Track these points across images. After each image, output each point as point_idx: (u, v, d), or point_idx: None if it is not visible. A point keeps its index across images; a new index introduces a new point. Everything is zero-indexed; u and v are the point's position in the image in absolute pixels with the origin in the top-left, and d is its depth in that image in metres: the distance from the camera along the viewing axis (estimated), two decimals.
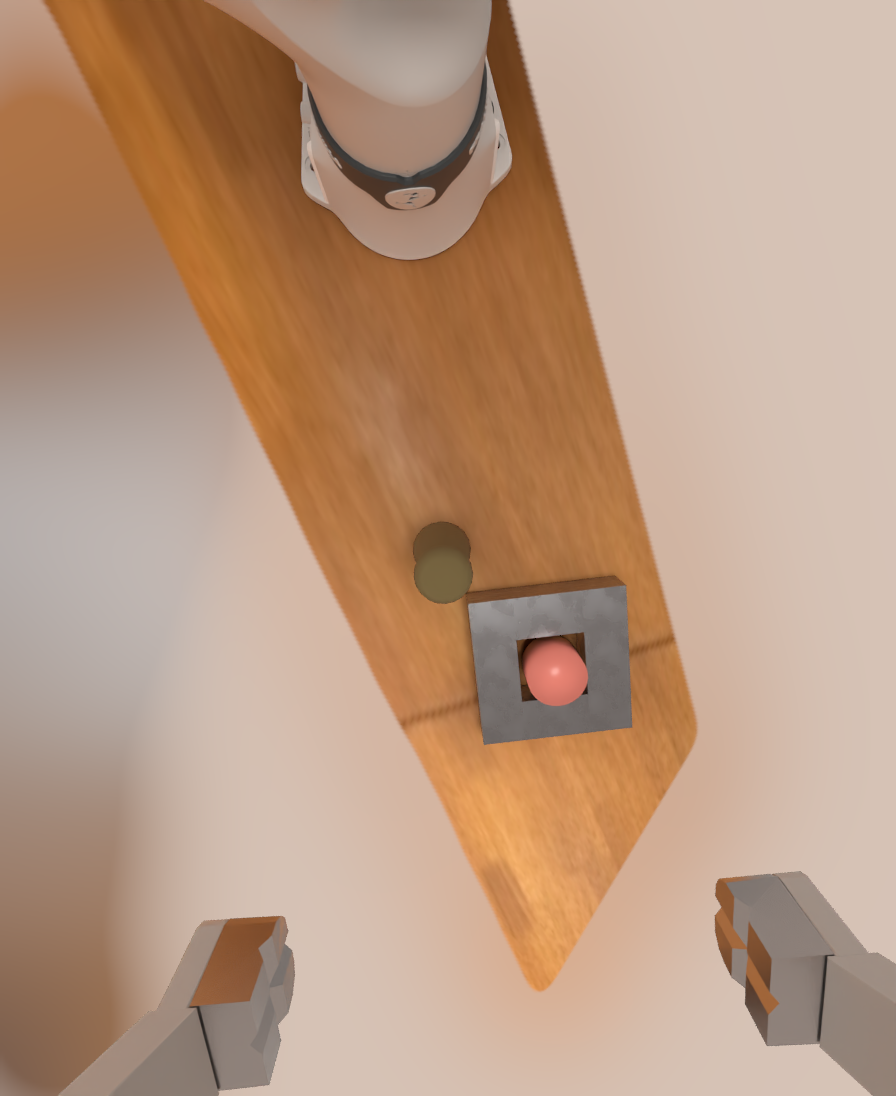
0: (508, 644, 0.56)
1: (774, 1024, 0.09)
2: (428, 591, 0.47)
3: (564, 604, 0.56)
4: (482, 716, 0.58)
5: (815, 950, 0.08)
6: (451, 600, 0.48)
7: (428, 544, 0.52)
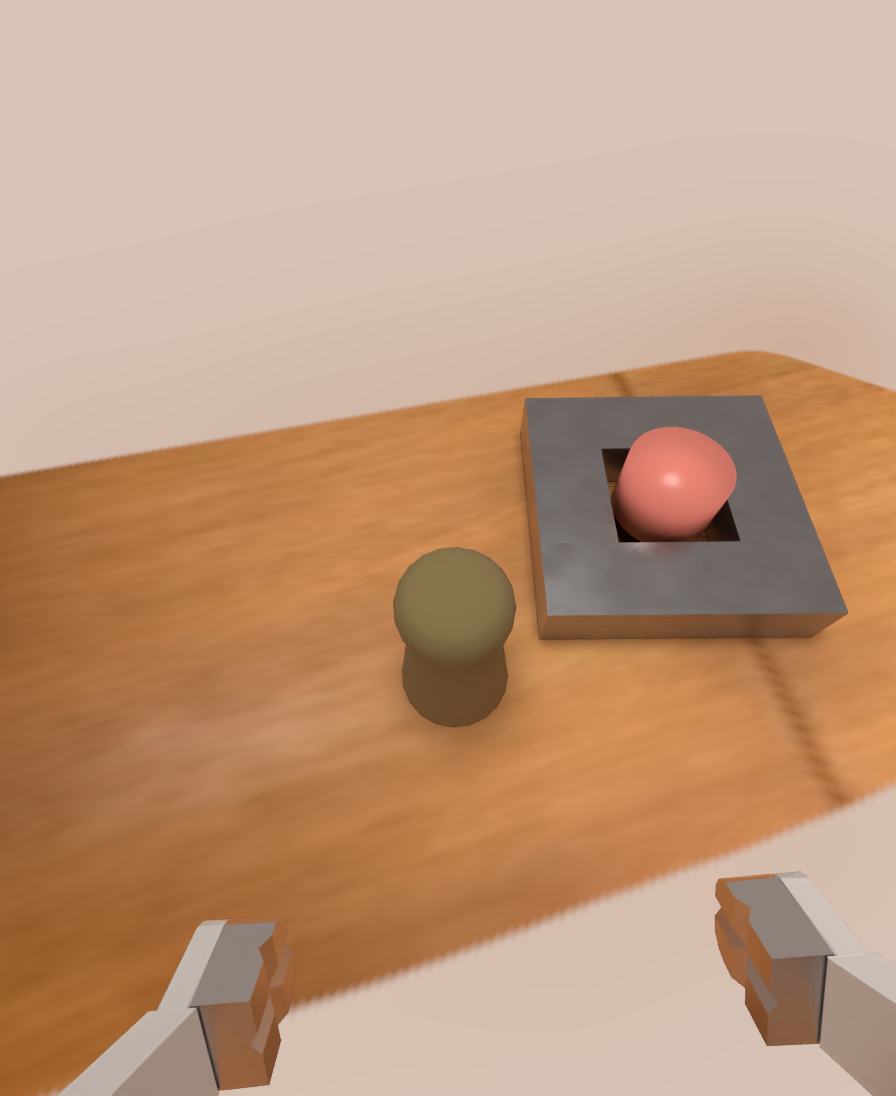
0: (628, 554, 0.31)
1: (774, 1024, 0.09)
2: (479, 624, 0.21)
3: (553, 472, 0.34)
4: (784, 610, 0.29)
5: (815, 950, 0.08)
6: (504, 583, 0.23)
7: (412, 659, 0.26)
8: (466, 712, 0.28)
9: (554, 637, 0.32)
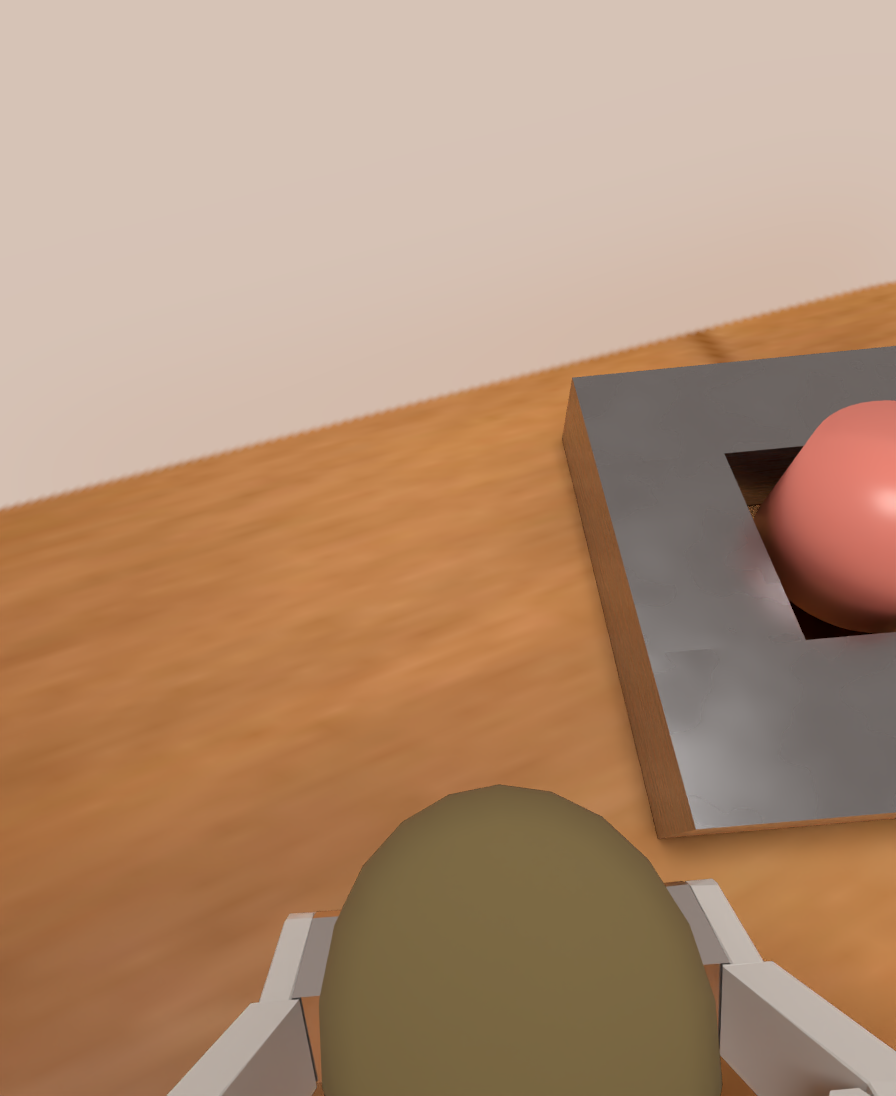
0: (832, 666, 0.15)
1: None
2: None
3: (646, 504, 0.18)
4: None
5: (712, 958, 0.08)
6: (680, 949, 0.07)
7: None
8: None
9: (689, 835, 0.16)
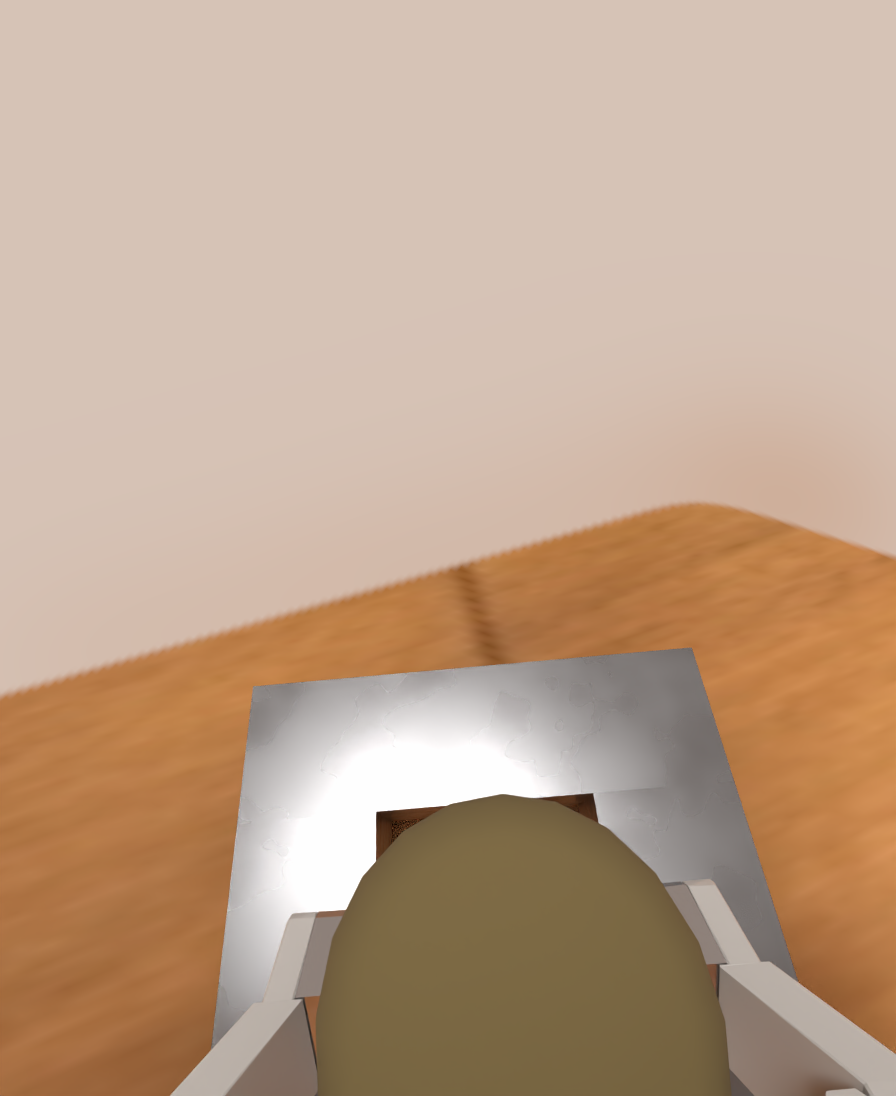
0: None
1: None
2: None
3: (271, 887, 0.17)
4: None
5: (709, 959, 0.08)
6: (690, 967, 0.06)
7: None
8: None
9: None
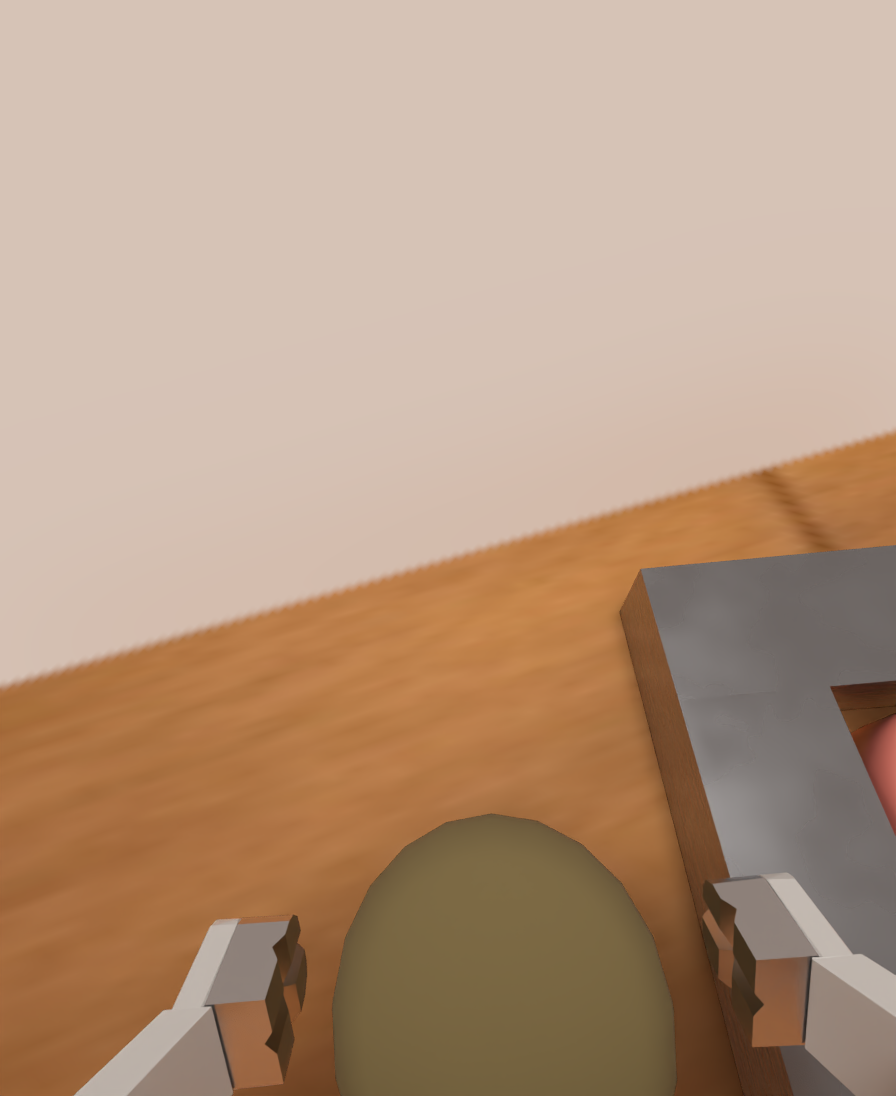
0: None
1: (759, 1026, 0.09)
2: None
3: (743, 760, 0.15)
4: None
5: (800, 951, 0.08)
6: (643, 964, 0.08)
7: None
8: None
9: None
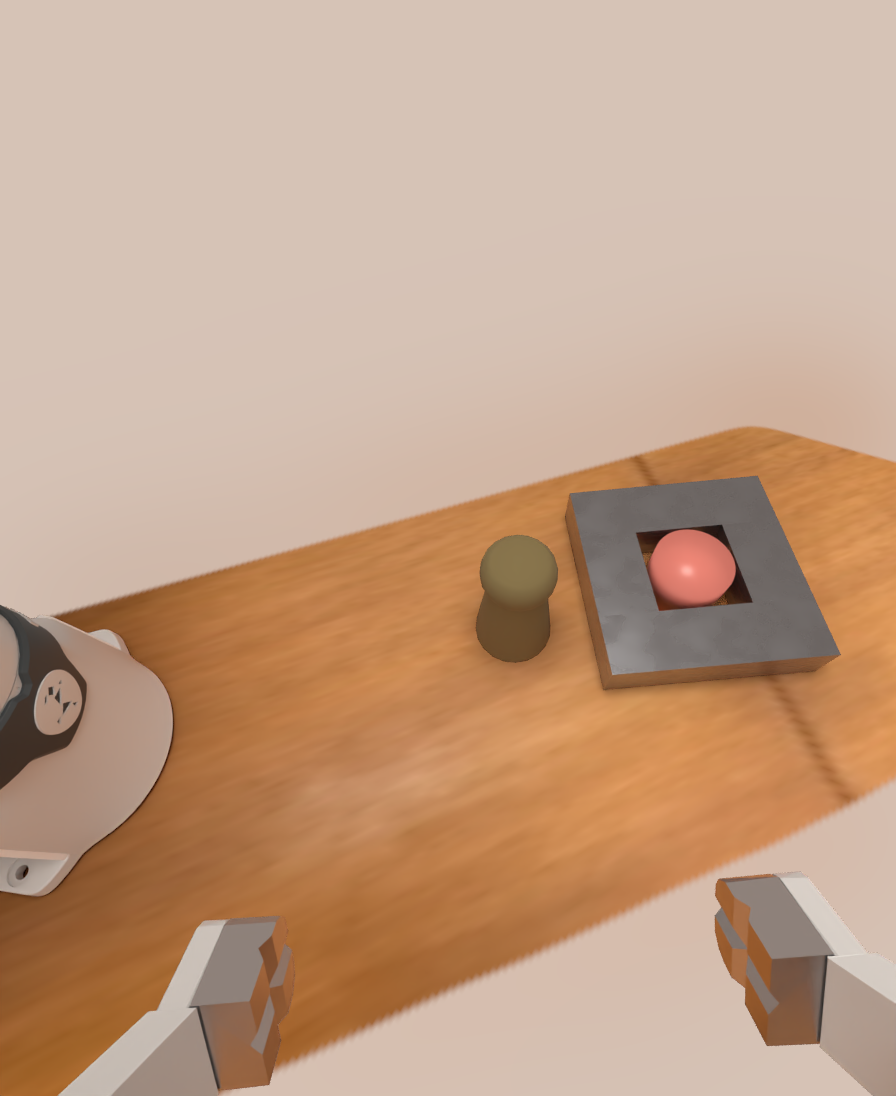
0: (667, 620, 0.41)
1: (774, 1024, 0.09)
2: (537, 579, 0.35)
3: (600, 555, 0.44)
4: (791, 656, 0.39)
5: (815, 950, 0.08)
6: (550, 554, 0.36)
7: (490, 611, 0.39)
8: (525, 649, 0.42)
9: (615, 687, 0.41)
